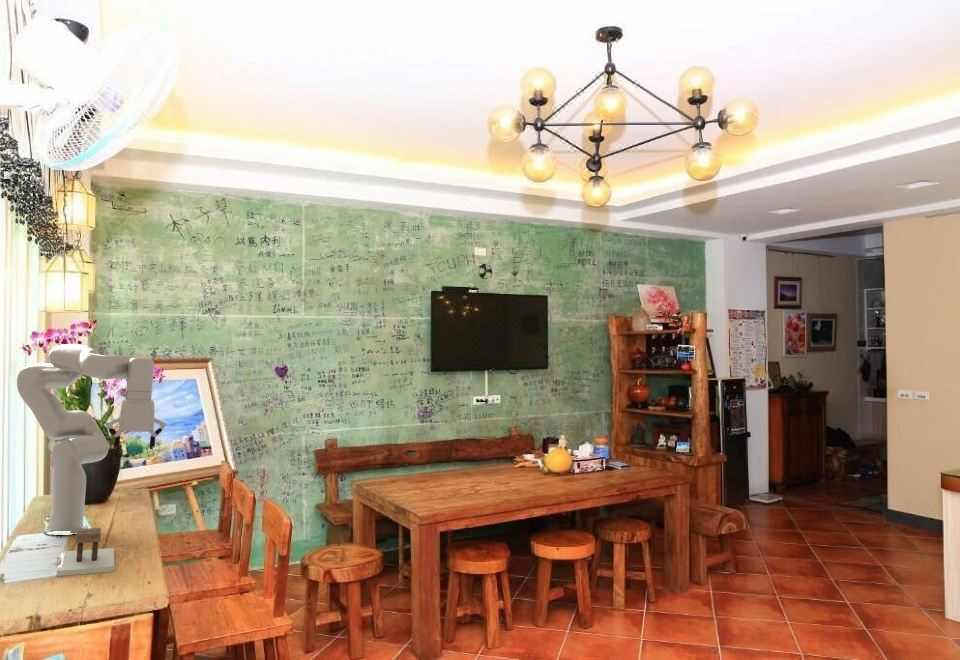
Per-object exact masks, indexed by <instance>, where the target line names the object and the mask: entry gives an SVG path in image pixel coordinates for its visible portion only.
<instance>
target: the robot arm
mask: <svg viewBox="0 0 960 660" xmlns="http://www.w3.org/2000/svg"><path fill="white" fill-rule="evenodd" d="M47 358H48V361H49V363H34V364H29V365H26V366H24V367H22V368H21V369H20V370H19V372H18V374H17V377H16V387H17V392H18V393H19V394H18V395H19V396H20V397H21V399H22V401H23V402H24V404H26V405H27V406H28V407H29V409H30V410H31V412H32V413H33V415H34V417H35V419H36V421H37V422H38V424H39V426H40V428H41V430H42V431H43V433H44V435H45V436H46V437H47V438H48V439H50V440H55V441H56V440H57V442H55V444H54V445H53V447H52V453H51V454H52V463H53V485H52V497H51V508H50V515H49V517H46V518H45V519H44V522H45V523H48V526H47V527H45V528H44V529H43V533H48V532H53V531H71V532H70V533H74V534H75V533H77V529H87V528H89V526H88V525H86V524H85V525H86V527H83V524H84V515H85V514H84V512H85V503H86V502H85V501H86V492H87V491H86V490H87V489H86V487H87V474H86V471H85V470H84V468H83V465H84V464H91V463H95V462H96V463H97V462H100V461H102V460H103V459H105V458H106V457H107V455H108V453H109V442H108V441H107V439H106V436H105V435H104V433H103V432H102V430H101V428H100V427H99V425H98V424H97V422H96V419H94V417H93V415H91V414H90V413H89V412H87V411H85V410H81V409H80V410H79V409H77V410H67V409H66V408H65V407H64V406H63V405H62V403H61V401H60V400H59V398H58V397H57V396H56V395H54V394H53V393H52V392H50V391H48V389H59V388H60V389H61V388H63V389H64V388H67V387H69V386H71V385H73V384H75V382H77V381H78V380H79V379H80V378H82V376H86V377H90V378H96V379H102V380H118V379H119V380H123V379H125V380H126V388H125V389H126V390H125V391H121V392H120V397H123V398H124V399H123V400H122V403H121V407H120V411H119V416H118V417H117V418H114V419H112V420H110V421H107V422H106V427H107V429H108V431H109V433H111V434H112V435H113V437H114V444H113V445H114V446H113V447H115V448H116V450H117V451H118V450H120V444H121V443H120V442H121V441H120V440H121V437H120V435H121V434H122V433H124V432H125V433H129V432H132V433H134V432H135V433H136V432H137V433H139V432H140V433H146V432H149V434H150V436H149V446H148V447H149V448H148V449H150V450H153V447H155V446H156V437H157V436H158V435H160V434H161V433H162V432H163V430H164V428H166V425H167V424H166V423H165V422H164V421H162V420H159V419H158V418H156V417H155V400H153V399H152V395H153V380H154V372H155V371H154V367H155V362H154V360H153V359H152V358H145V357H137V356H131V355H102V354H100V353H99V351H97V350H96V349H95V348H92V347H90V346H88V345H84V344H60V345H56V346H55V347H52V349H50V351H49V353H48V357H47ZM115 424H118V429H117V430H115V429H114V427H113V425H115ZM155 424H157V425H159V427H158V428H157V429H156V430H154V428H155ZM82 527H83V528H82Z"/></svg>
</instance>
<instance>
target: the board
mask: <svg viewBox="0 0 960 660" xmlns="http://www.w3.org/2000/svg"><path fill="white" fill-rule="evenodd" d="M64 552H65V556H64V561H63V564H62V567H61V568H60V567H59V568H56V577H64V576H65V577H66V576H74V575H75V576H76V575H78V576H79V575H87V574H99V573H101V574H102V573H109V572H110V573H111V572H115V549H114V547H109V548H107V547H106V548H98V553H97V560H96V561H92V549H83V554H82V561H81V562H76V558H77V550H67V551H64Z"/></svg>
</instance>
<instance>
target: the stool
mask: <svg viewBox="0 0 960 660" xmlns="http://www.w3.org/2000/svg"><path fill="white" fill-rule="evenodd" d="M101 530H102V528H101V527H90V528H89V527H88V528H87V529H77V535H76V538H75V540H76V541H75V543H76V544H77V547H76V548H77V549H76V551H77V558H76V562H81V561H82V554H83V550H84V544H85V543H92V546H91V550H92V561H96V560H97V553H98V549H99V543H100V542H101V535H102V534H101V533H102V531H101Z"/></svg>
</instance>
